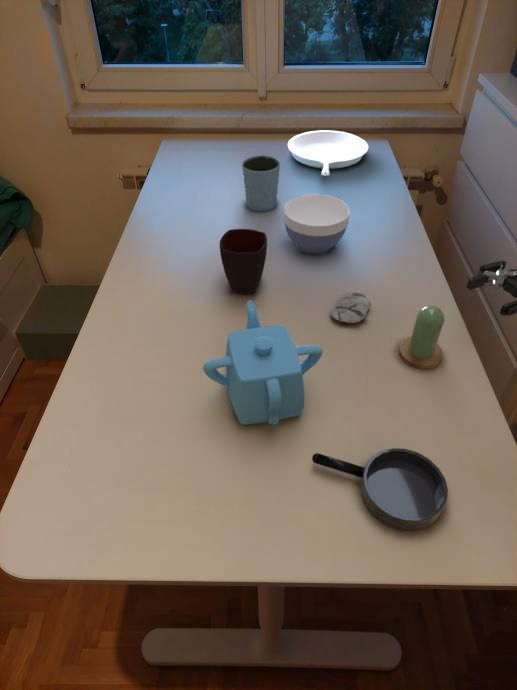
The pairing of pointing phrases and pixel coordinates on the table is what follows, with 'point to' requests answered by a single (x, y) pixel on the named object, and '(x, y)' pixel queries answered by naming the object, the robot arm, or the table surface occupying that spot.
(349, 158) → the pan
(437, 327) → the green capsule
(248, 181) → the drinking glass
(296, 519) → the table surface
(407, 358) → the disc
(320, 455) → the pan handle
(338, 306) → the stone
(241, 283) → the cup
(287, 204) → the bowl
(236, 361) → the teapot
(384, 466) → the steel pan
